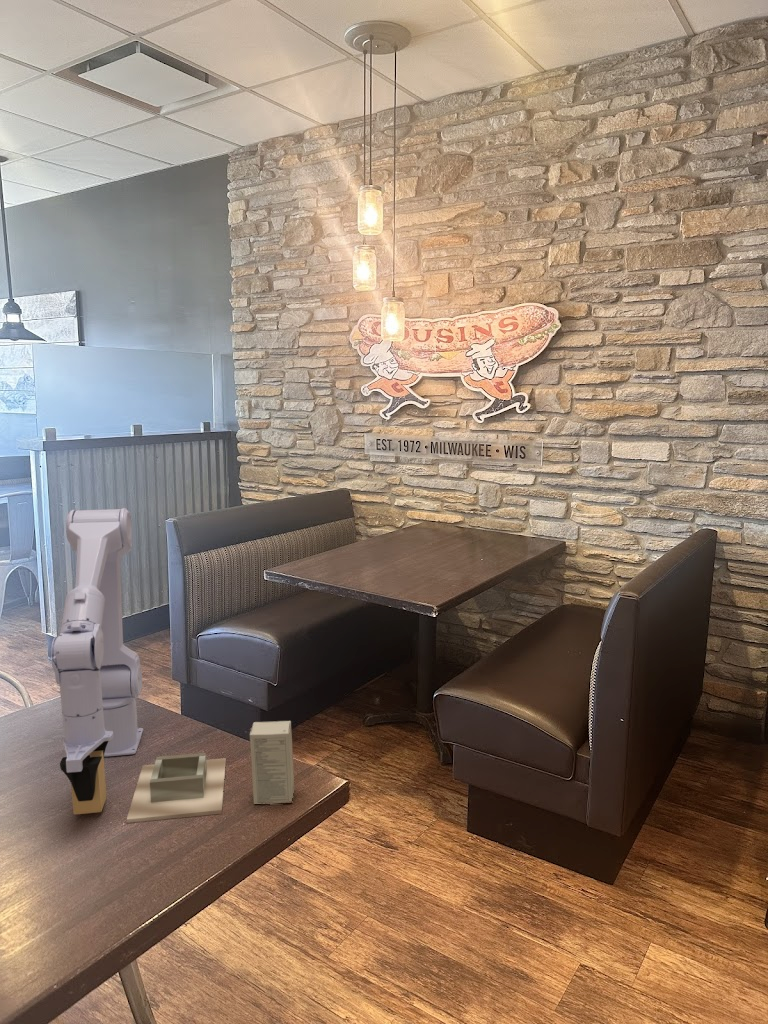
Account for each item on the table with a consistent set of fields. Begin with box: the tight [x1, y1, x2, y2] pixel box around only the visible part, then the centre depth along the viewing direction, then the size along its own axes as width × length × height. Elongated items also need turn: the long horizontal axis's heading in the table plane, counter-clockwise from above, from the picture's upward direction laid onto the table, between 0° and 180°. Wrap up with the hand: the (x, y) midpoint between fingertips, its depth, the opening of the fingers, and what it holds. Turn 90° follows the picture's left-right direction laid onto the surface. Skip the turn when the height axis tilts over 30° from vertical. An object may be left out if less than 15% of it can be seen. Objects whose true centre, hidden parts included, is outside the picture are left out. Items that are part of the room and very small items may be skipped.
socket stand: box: [126, 752, 227, 824], centre depth 118 cm, size 16×14×4 cm
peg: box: [70, 750, 108, 815], centre depth 111 cm, size 4×4×8 cm
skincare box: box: [249, 720, 295, 804], centre depth 115 cm, size 6×4×12 cm
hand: (89, 791), depth 111 cm, fingers closed on peg, 4 cm apart
